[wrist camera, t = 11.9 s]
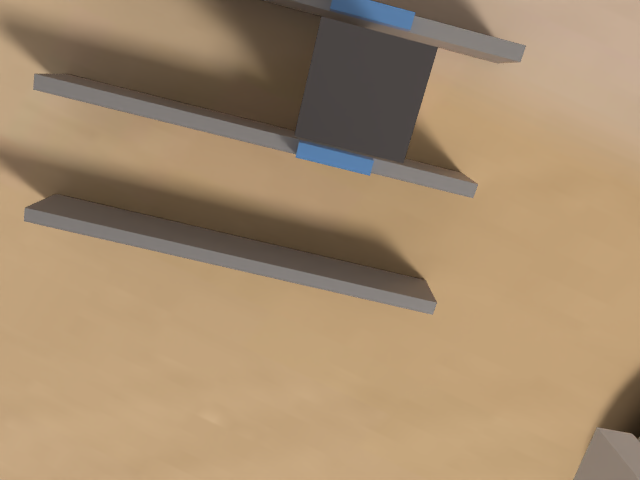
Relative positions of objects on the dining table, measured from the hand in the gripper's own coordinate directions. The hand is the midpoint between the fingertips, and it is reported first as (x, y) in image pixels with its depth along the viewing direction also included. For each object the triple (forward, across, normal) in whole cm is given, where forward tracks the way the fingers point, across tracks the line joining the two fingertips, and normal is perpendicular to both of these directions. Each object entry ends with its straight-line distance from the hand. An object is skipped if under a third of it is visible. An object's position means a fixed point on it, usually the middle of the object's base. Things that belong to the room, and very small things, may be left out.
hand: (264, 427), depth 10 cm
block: (+23, +2, +6) cm, 24 cm away
